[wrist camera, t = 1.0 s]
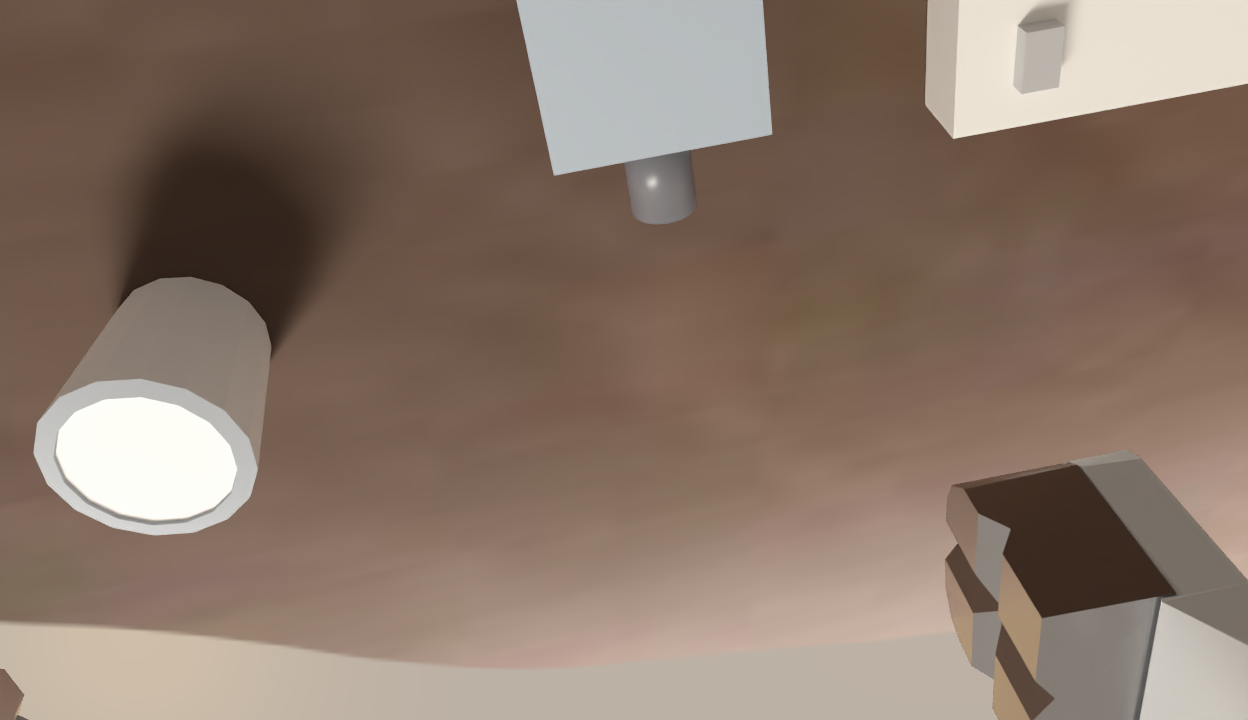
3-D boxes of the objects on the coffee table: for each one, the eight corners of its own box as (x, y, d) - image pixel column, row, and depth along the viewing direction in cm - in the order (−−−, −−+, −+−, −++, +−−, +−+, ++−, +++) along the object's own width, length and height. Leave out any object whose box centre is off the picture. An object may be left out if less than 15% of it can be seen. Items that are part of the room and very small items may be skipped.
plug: (485, -202, 30) (486, -141, 24) (692, -242, 30) (748, -191, 24) (558, 147, 37) (573, 268, 30) (727, 115, 37) (779, 229, 30)
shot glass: (289, 272, 39) (256, 391, 33) (287, 416, 42) (257, 544, 37) (87, 251, 37) (17, 371, 32) (104, 401, 41) (45, 532, 36)
